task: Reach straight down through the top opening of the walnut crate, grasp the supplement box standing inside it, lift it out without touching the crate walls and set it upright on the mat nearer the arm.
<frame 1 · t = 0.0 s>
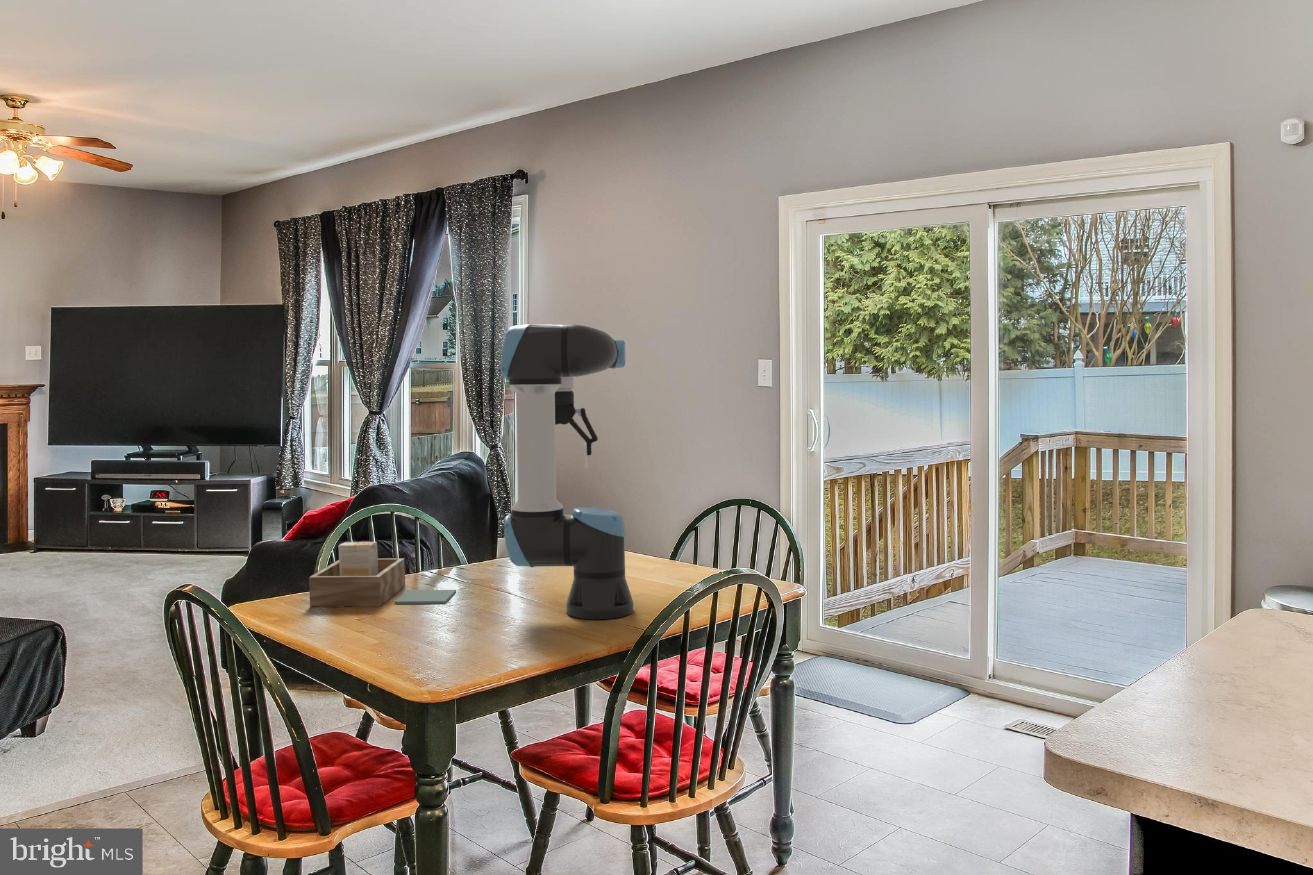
hand: (561, 467, 266), 28 cm above the table, fingers open, 13 cm apart
supplement box: (359, 596, 237), resting in crate
mat: (426, 597, 234), on the table
crate: (359, 595, 237), on the table
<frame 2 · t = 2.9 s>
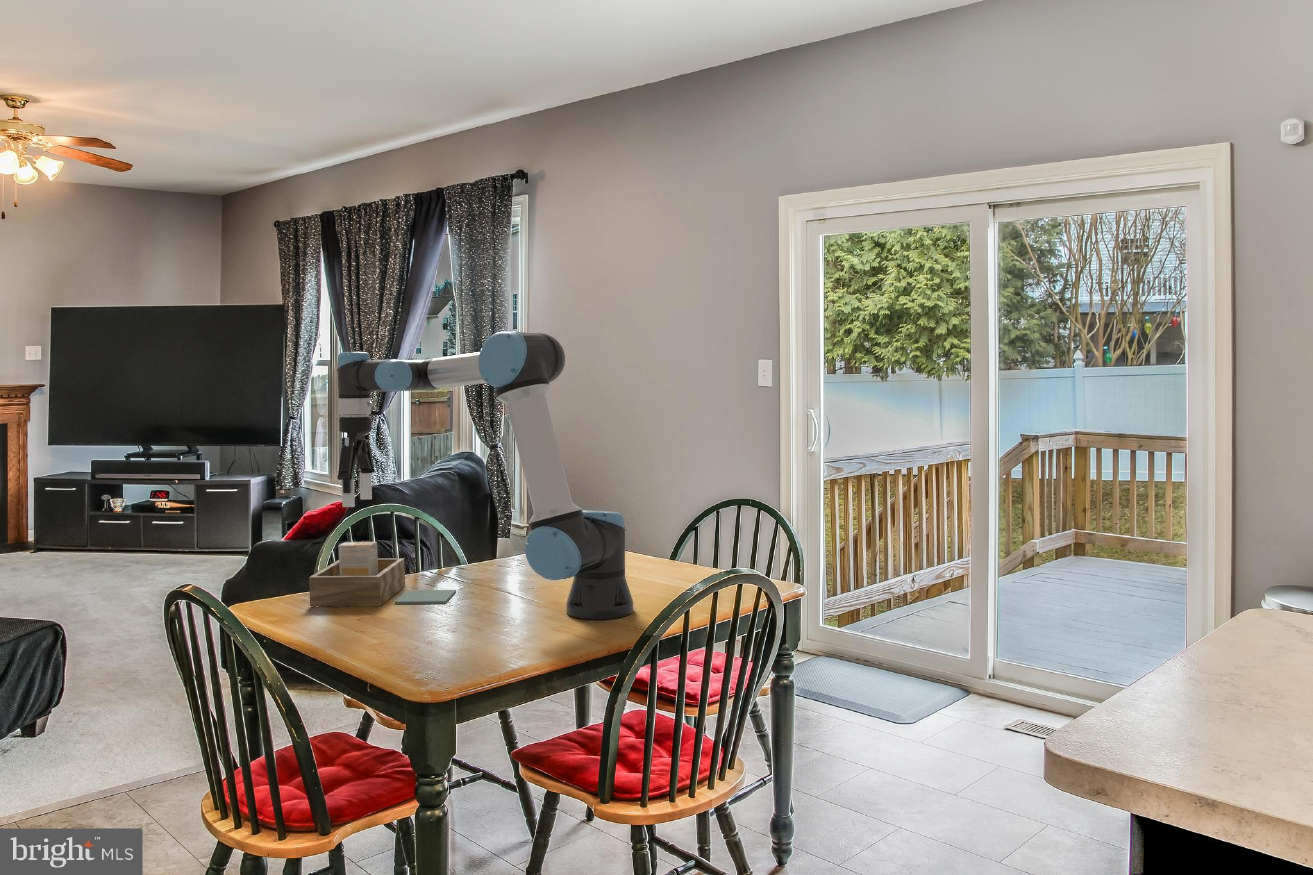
hand: (357, 503, 236), 23 cm above the table, fingers open, 13 cm apart
nothing on the table moved.
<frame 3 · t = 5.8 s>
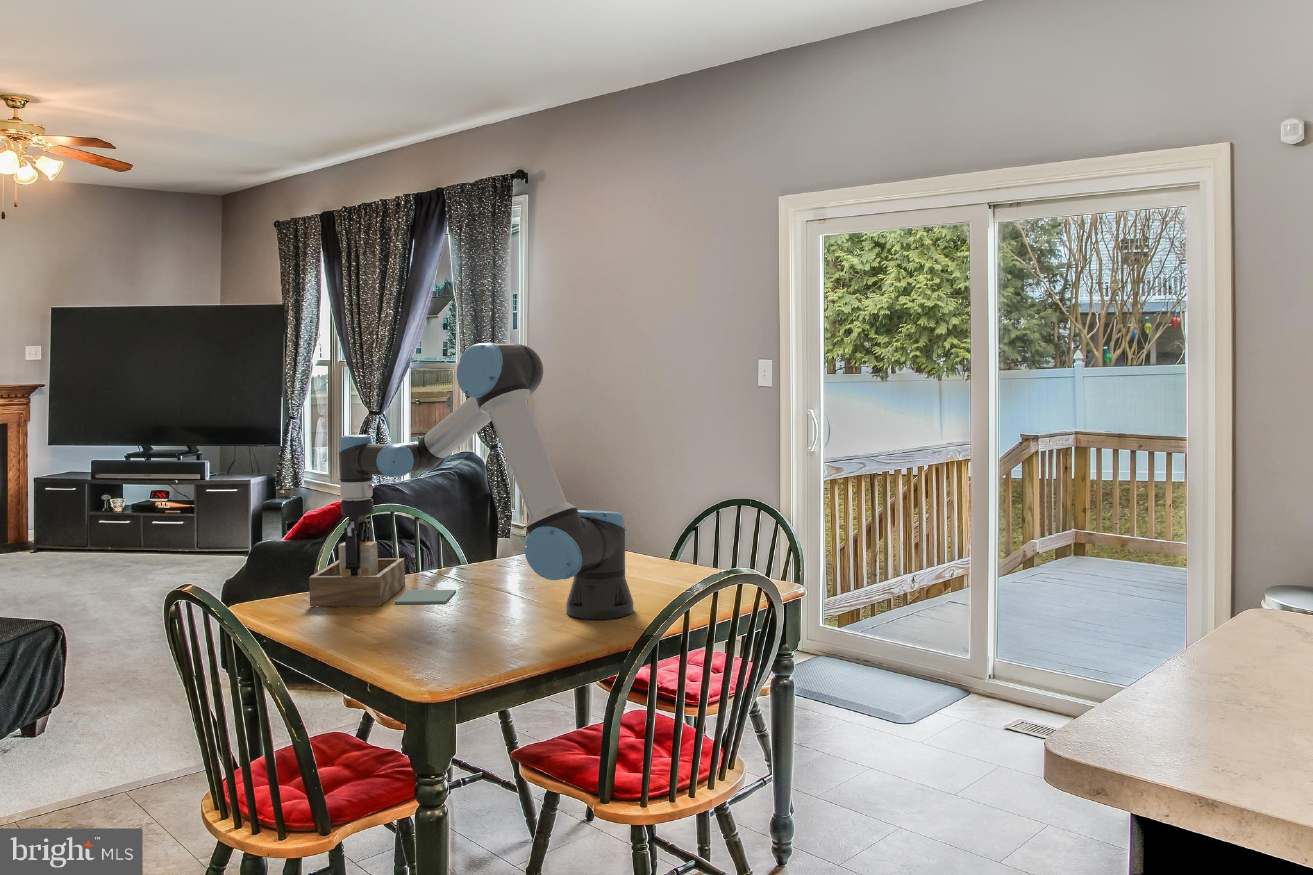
hand: (359, 592, 237), 1 cm above the table, fingers closed on supplement box, 5 cm apart
supplement box: (359, 596, 237), resting in crate, touching gripper
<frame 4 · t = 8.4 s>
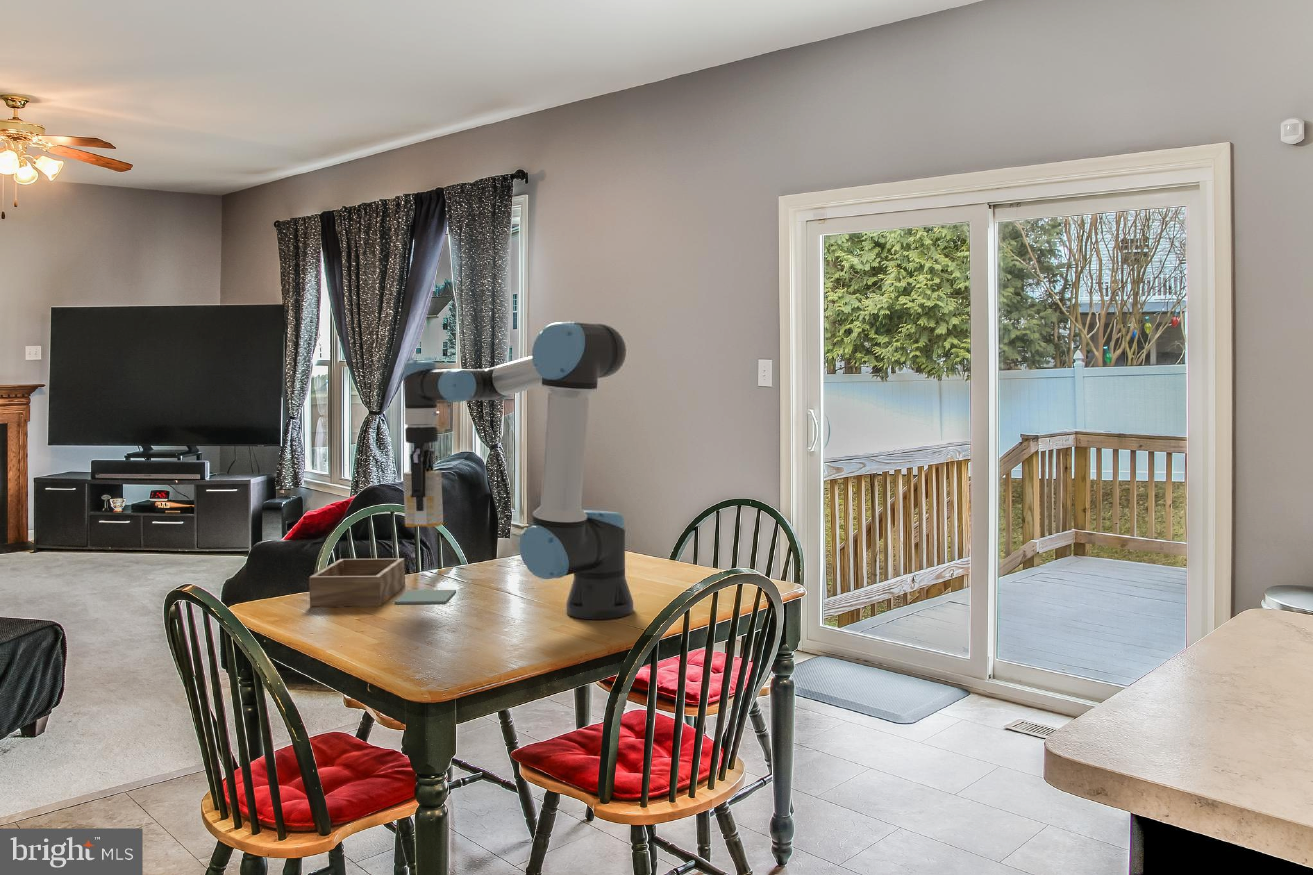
hand: (424, 522, 233), 18 cm above the table, fingers closed on supplement box, 5 cm apart
supplement box: (424, 526, 233), point 17 cm above the table, touching gripper
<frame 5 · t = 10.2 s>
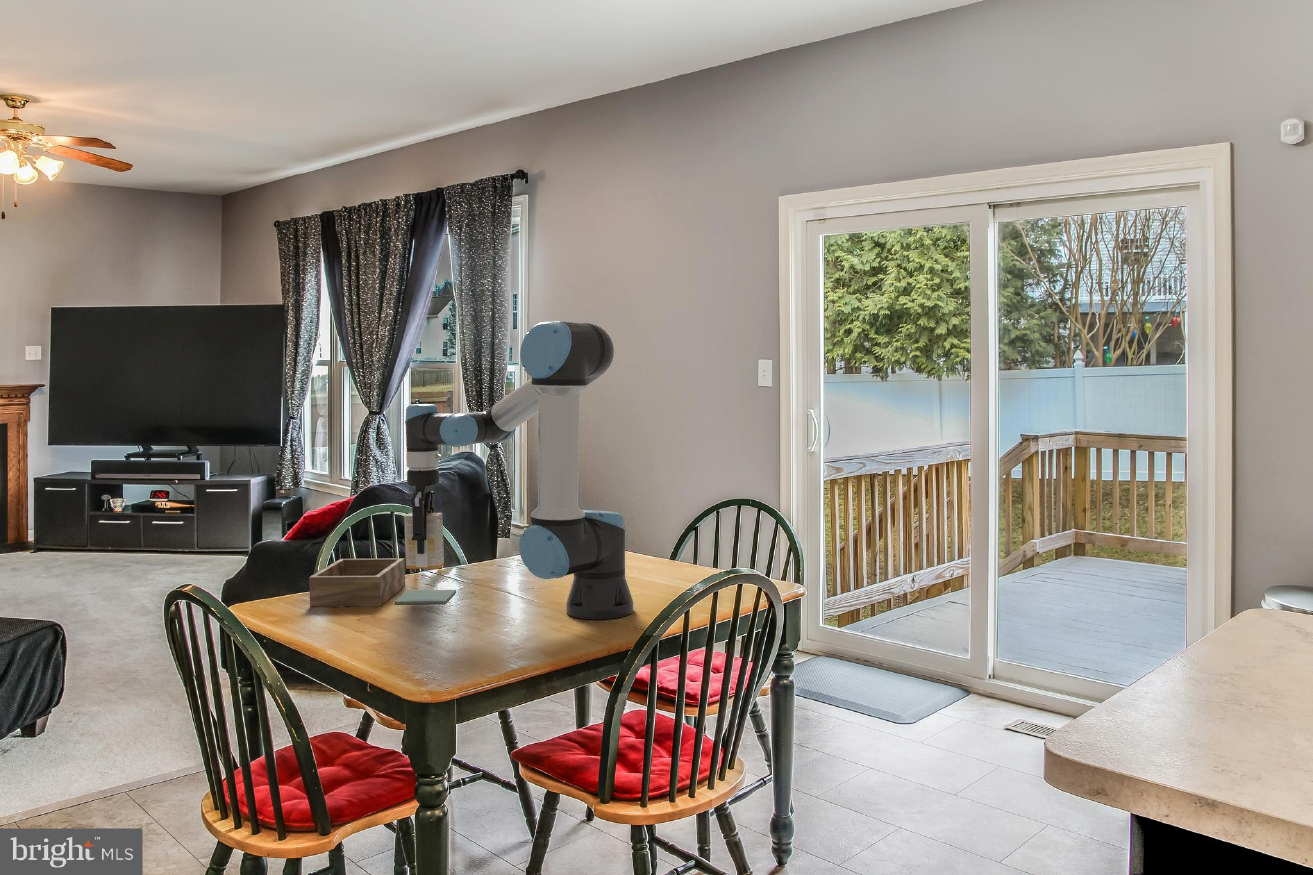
hand: (424, 564, 234), 8 cm above the table, fingers closed on supplement box, 5 cm apart
supplement box: (425, 568, 234), point 7 cm above the table, touching gripper
when the fingers open (3 cm above the table, at t = 11.5 s): supplement box drops 2 cm, resting on mat.
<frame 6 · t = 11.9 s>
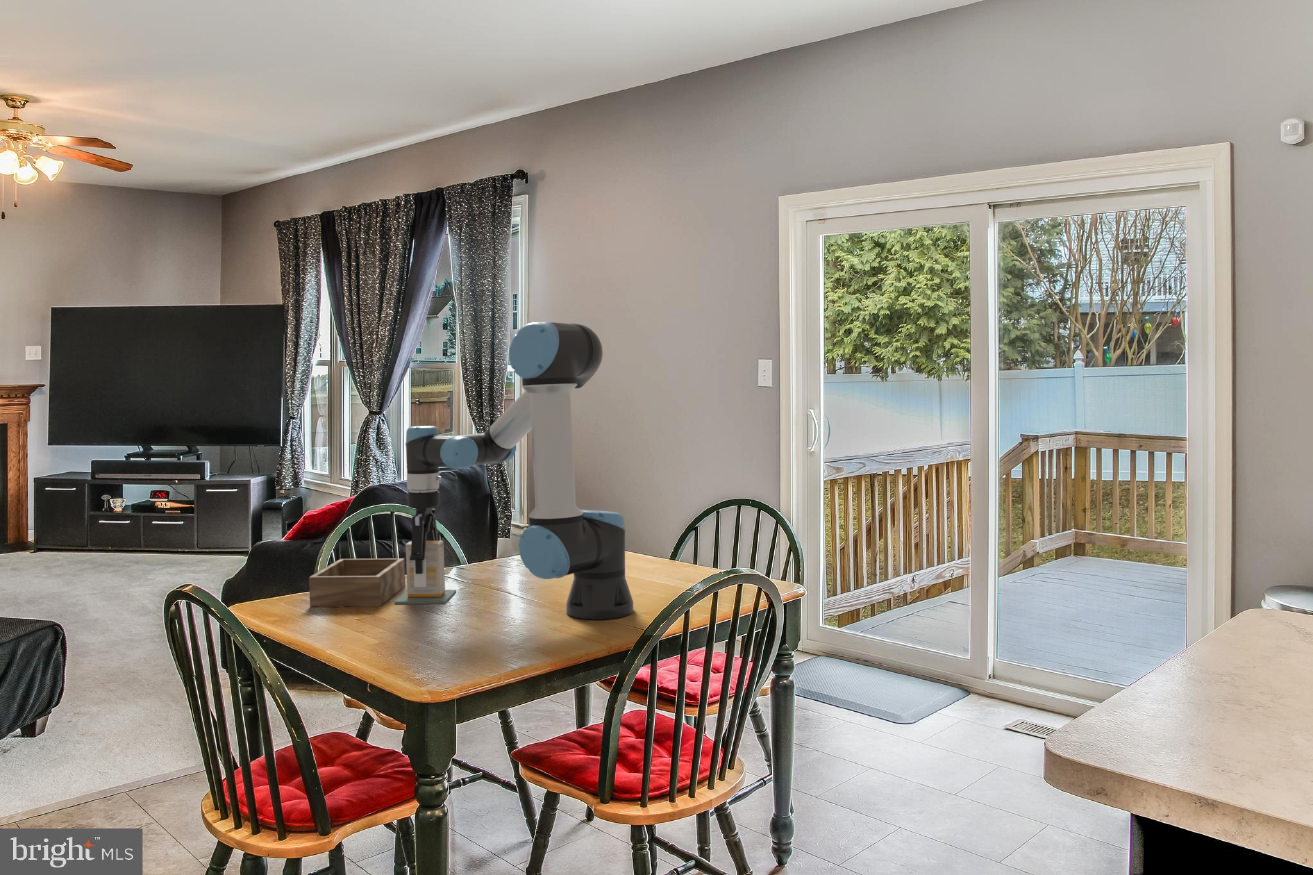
hand: (425, 582, 234), 4 cm above the table, fingers open, 10 cm apart
supplement box: (426, 596, 234), resting on mat
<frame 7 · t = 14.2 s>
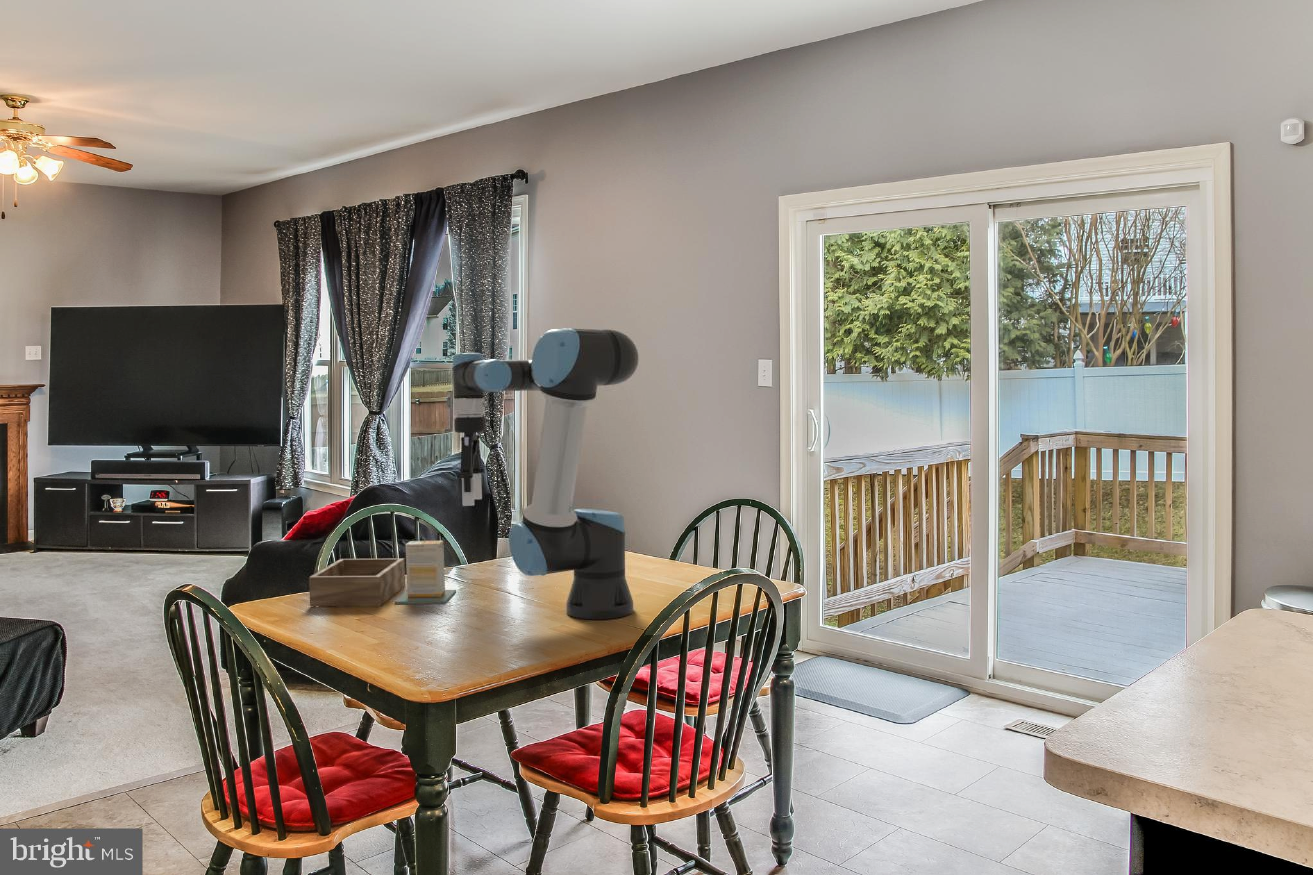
hand: (472, 502, 239), 22 cm above the table, fingers open, 13 cm apart
nothing on the table moved.
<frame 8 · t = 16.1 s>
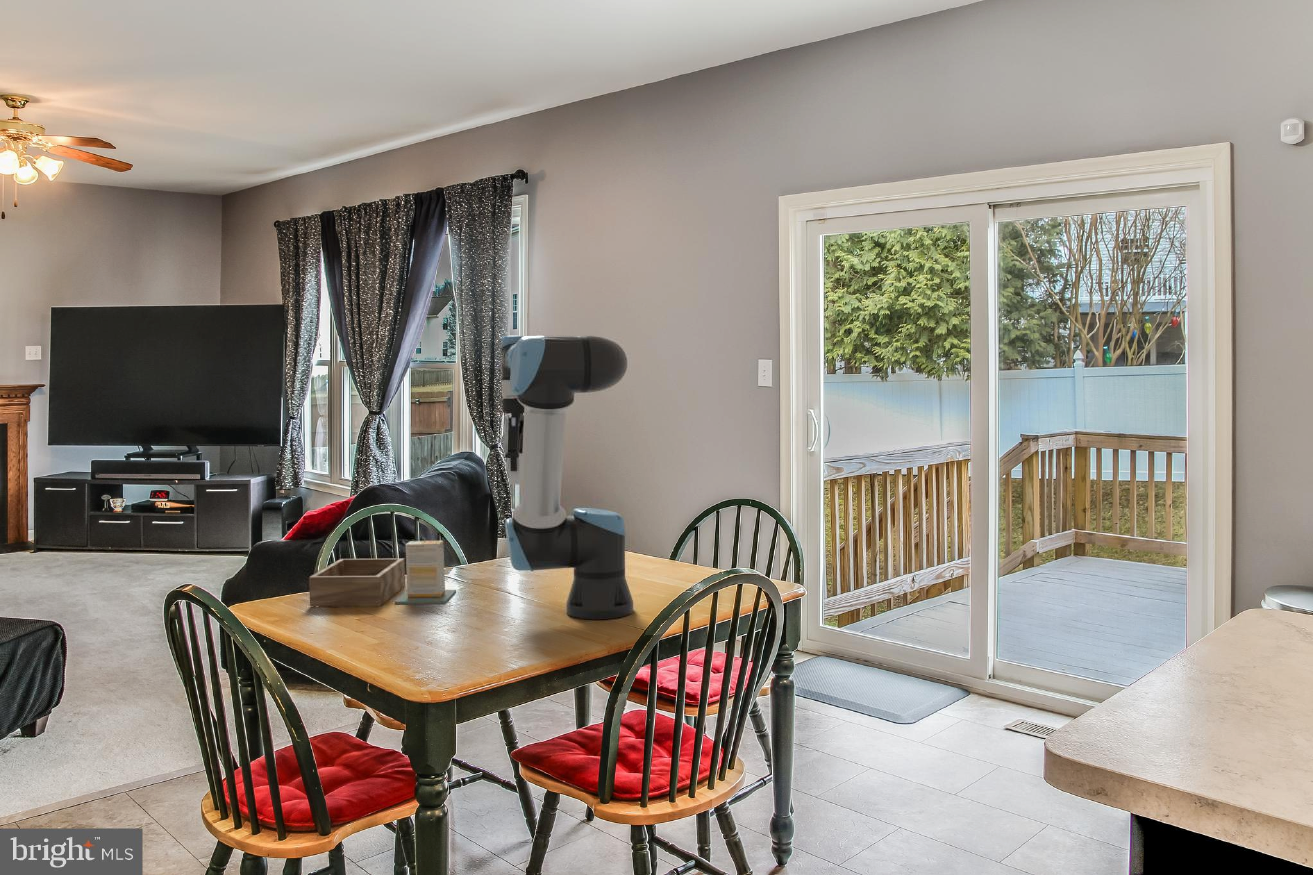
hand: (518, 481, 245), 27 cm above the table, fingers open, 13 cm apart
nothing on the table moved.
at the end: supplement box inside the target area on the mat (0.1 cm from its centre), point 0.4 cm above the mat's base; supplement box tilted 0°; the gripper is holding nothing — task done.
